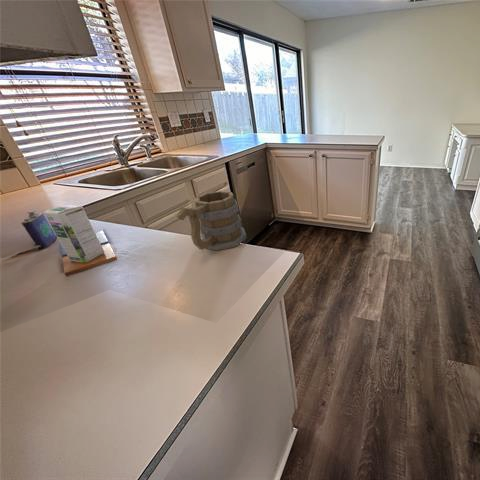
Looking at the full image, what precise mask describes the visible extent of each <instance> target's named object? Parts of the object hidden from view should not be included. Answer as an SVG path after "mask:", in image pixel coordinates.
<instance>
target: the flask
mask: <svg viewBox="0 0 480 480" xmlns="http://www.w3.org/2000/svg"><path fill="white" fill-rule="evenodd" d="M26 214H28V217H27V218H25V219H23V220H22V222H21V225H22V226H23V228H24V230H25V231H26V232H27V234H28V235H29V236H30V238H31V240H32V241H33V242H34V244H35V245H36V246H38V247H37V249H38V250H43V249H46V248H49V247H50V246H51V245H52V244H54V243H55V241H56V240H57V239H58V238H57V236H56V234H55V232H54V230H53V229H52V227H51V225H50V223H49V222H48V220H47V218H46V216H45V214H44V212H40V211H39V212H36V210H35V211H28V212H26Z"/></svg>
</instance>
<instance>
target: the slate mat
mask: <svg viewBox="0 0 480 480" xmlns="http://www.w3.org/2000/svg"><path fill="white" fill-rule="evenodd" d="M95 233H96V236H97V238H98V240H99V242H100V244H101V246H102V245H105V244H110V242H109V240H108V238H107V236H106V234H105V232H104V230H100V231H97V232H96V231H95ZM59 245H60V251H61V252H60V253H61V256H62V257H66V256H67V254H66V252H65V250H64V248H63V247H62V245H61V243H60V242H59Z"/></svg>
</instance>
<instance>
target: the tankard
mask: <svg viewBox="0 0 480 480" xmlns="http://www.w3.org/2000/svg"><path fill="white" fill-rule="evenodd" d="M194 201H195V203H194V204H195V208H187V207H181V209H180V210H179V211H178V212H177V214H176V218H177V219H178V220H180V221H185V219H186V217H187V216H189V220H190V225H191V232H190V233H191V234H190V235H191V241H192V243H193V245H194V246H195V247H197V248H198V249H199V250H201V251H203V250H205V249H207V250H212V251H218V252H219V251H223V250H227V249H231V248H237V247H238V246H239V245H240V244H241V243H243V242H244V241H245V240H247V238H248V237H247V233H246V230H245V228H244V227H243V225H242V219H241V217H240V215H239V214H238V213H239V212H240V210H239V204H238V202H237V200H236V199H235V196H234V193H233V192H232V191H226V190H217V191H210V192H205V193H202V194H201V195H198V196H196V197H195V199H194ZM201 234H202V235H201Z"/></svg>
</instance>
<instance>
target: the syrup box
mask: <svg viewBox="0 0 480 480" xmlns="http://www.w3.org/2000/svg"><path fill="white" fill-rule="evenodd" d="M43 214H44V216H45V218H46V220H47V221H48V223H49V224H50V226H51V228H52V229H53V231H54V233H55V234H56V236H57V238H56V239H57V240H58V241H59V244H60V243H61V245H62V247H63V248H64V250H65V252H66V254H67V256H68V257H69V259H70V261H75V262H82V263H87V262H89V261H91V260H93V259H94V258H96V257H98V256H100V255H102V254H103V253H105V252H104V250H103V248H102V246H101V244H100V242H99V240H98V238H97V236H96V231H95V229H94V228H93V226H92V223H91V221H90V219H89V217H88V215H87V213H86V211H85V209H84V206H83V205H72V204H71V205H70V204H65V205H60V206H56V207H53V208H50V209H47V210H45V211H43ZM61 245H60V246H61Z"/></svg>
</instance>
